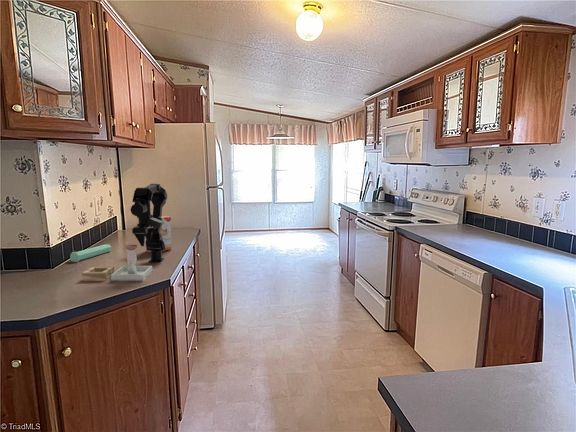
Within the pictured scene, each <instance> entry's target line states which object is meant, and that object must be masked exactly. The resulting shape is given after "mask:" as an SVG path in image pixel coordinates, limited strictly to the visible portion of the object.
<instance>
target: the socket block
mask: <svg viewBox="0 0 576 432" xmlns="http://www.w3.org/2000/svg"><path fill="white" fill-rule="evenodd" d="M114 272H115V267H114V266H92V267H90V268H88V269H87V270H84V272H81V281H82V282H95V281H97V282H105V281H107V280H108V279H109V278H110V279H111V274H113V273H114Z"/></svg>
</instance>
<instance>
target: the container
mask: <svg viewBox="0 0 576 432" xmlns="http://www.w3.org/2000/svg"><path fill="white" fill-rule="evenodd" d="M111 250H112V246H111V244H109V243H108V244H102V245H98V246H93V247H91V248H87V249H83V250H79V251H72V252H70V255H69V257H70V258H69V259H70V260H71V261H72V262H73V263H78V262H80V261H84V260H88V259H90V258H93V257H96V256H100V255H104V254H107V253H109V252H111Z"/></svg>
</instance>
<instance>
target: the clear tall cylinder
mask: <svg viewBox="0 0 576 432" xmlns="http://www.w3.org/2000/svg"><path fill="white" fill-rule="evenodd" d="M137 248H138V245H137V244H126V245H125V249H126V259H127V261H126V262H127V266H128V274H137V266H138V262H137Z"/></svg>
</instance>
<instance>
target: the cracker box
mask: <svg viewBox="0 0 576 432" xmlns="http://www.w3.org/2000/svg"><path fill="white" fill-rule="evenodd" d="M161 218H162V220H163V224H162V227H161V228H160V233H161V235H162V237H163V241H164V243H165V250H163V251H162V252H166V250H168V251H172V220H171V219H172V218H171V216H168V215H164V216H163V215H162V216H161ZM146 240H147V239H146V237H145V242H146ZM145 252H147V253H148V254H149V253H150V254H151V251H150V250H148V251H147V248H146V247H145Z"/></svg>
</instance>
